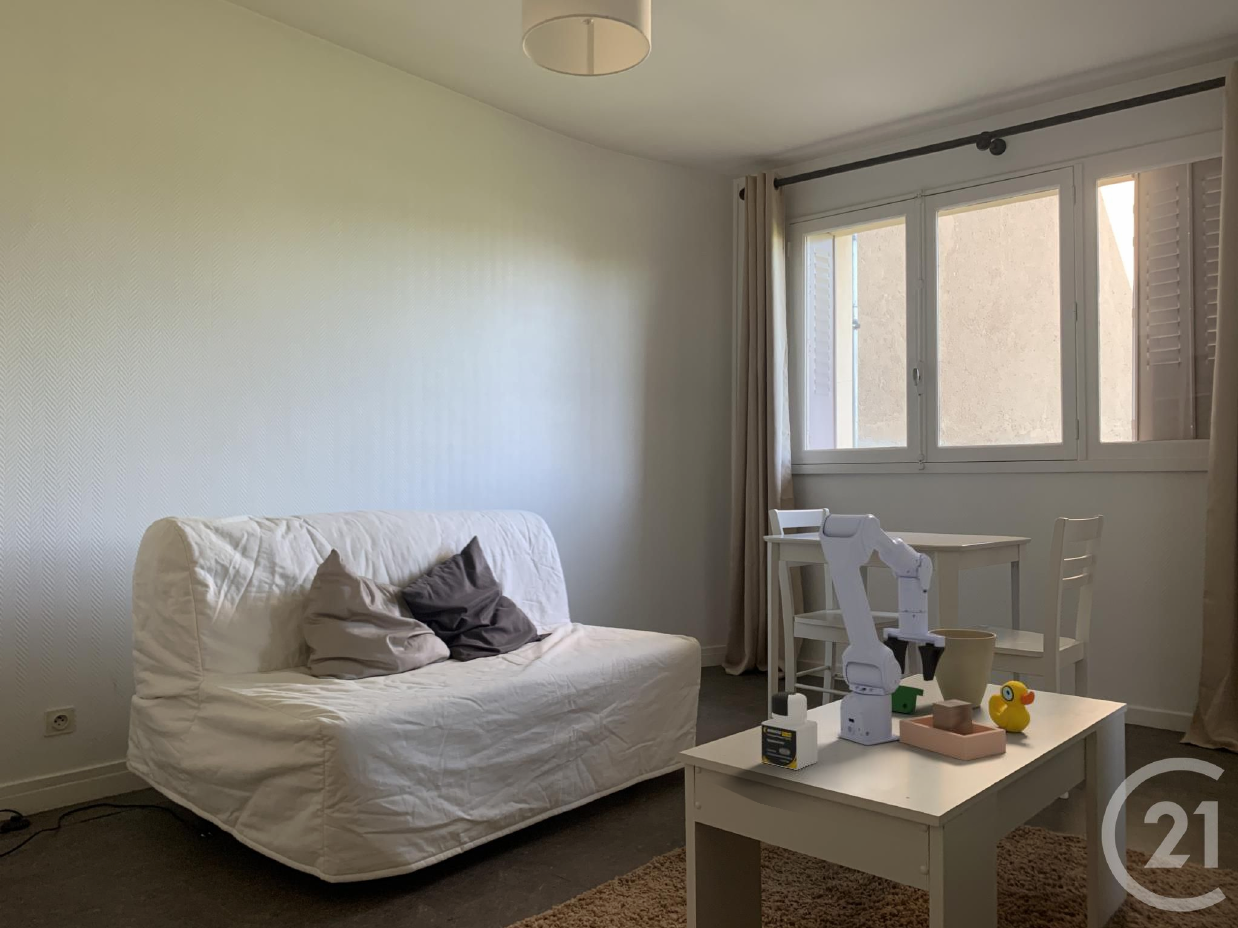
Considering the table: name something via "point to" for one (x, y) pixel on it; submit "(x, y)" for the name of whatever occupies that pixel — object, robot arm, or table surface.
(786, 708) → the medicine bottle
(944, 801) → the table surface
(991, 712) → the duckling
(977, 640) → the plant pot
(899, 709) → the clamp
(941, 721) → the tan wooden block
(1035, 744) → the table surface
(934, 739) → the pink rectangular tray
